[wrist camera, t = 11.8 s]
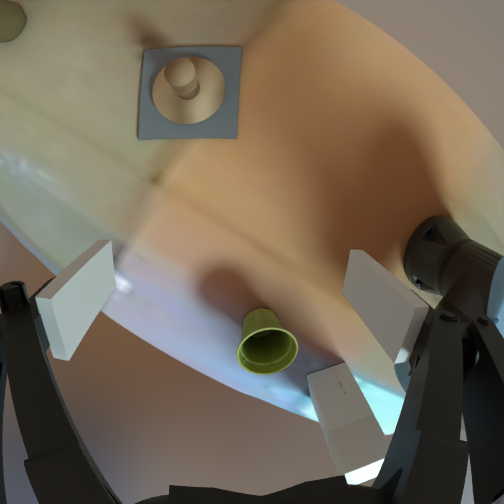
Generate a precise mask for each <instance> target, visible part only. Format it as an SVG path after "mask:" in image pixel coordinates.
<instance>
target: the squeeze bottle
mask: <svg viewBox="0 0 504 504" xmlns="http://www.w3.org/2000/svg"><path fill="white" fill-rule="evenodd" d="M26 19H27V17H26V15H25V13H24V11H23V9H22V7H21V6H20V5H19V4H17V3H14V2H11V1H8V0H0V43H1V42H7V41H11V40H13V39H15V38H16V37H17V36H18V35H19V34H20V33H21V32H22V30H23V28H24V27H25V24H26Z"/></svg>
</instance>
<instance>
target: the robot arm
mask: <svg viewBox="0 0 504 504" xmlns="http://www.w3.org/2000/svg"><path fill="white" fill-rule="evenodd" d="M404 267H405V273H406V276H407V278H408V279H409V281H410V282H411V283H412V284H413V285H414V286H416V287H417V288H418V289H420V290H422V291H425V292H429V293H433V294H437V295H441V296H443V298H442V300H441V301H440V302H439V304H438V305H437V306H436V308H435V309H433V308H432V307H431V306H430V305H429V304H428V303H426V302H425V301H423V299H422V298H421V297H420V296H418V295H417V294H416V293H415V292H414V291H413V290H411V289H409V288H408V287H407V286H406V285H404V284H403V283H402V282H401V281H400V280H399V279H397V278H396V277H395V276H394V275H393V274H391V273H390V272H389V271H388V270H387V269H385V268H384V267H383V266H382V265H380V264H379V263H378V262H377V261H376V260H374V259H373V258H372V257H371V256H369V255H368V254H367V253H366V252H364V251H363V250H355V249H351V250H350V255H349V261H348V266H347V271H346V276H345V281H344V285H343V290H342V294H343V295H344V297H345V298H346V299H347V301H348V302H349V303H350V305H351V306H352V307H353V308H354V310H355V311H356V312H357V314H358V315H359V316H360V318H361V319H362V320H363V322H364V323H365V324H366V326H367V327H368V328H369V330H370V331H371V333H372V334H373V335H374V337H375V338H376V339H377V341H378V342H379V343H380V345H381V346H382V348H383V349H384V350H385V352H386V353H387V354H388V356H389V357H390V359H391V360H392V361H393V363H394V369H395V373H396V376H397V378H398V380H399V382H400V384H401V386H402V388H403V389H404V391H405V392H406V396H405V400H404V403H403V407H402V410H401V413H400V416H399V420H398V423H397V426H396V429H395V432H394V434H393V437H392V440H391V443H390V445H389V448H388V451H387V453H386V456H385V458H384V461H383V463H382V466H381V468H380V471H379V473H378V475H377V477H376V479H375V481H374V483H373V485H372V486H371V487H368V486H362V485H355V484H348V483H347V480H346V477H345V475H341V476H336V477H331V478H326V479H320V480H314V481H308V482H304V483H301V484H298V485H295V486H293V487H290V488H287V489H284V490H281V491H278V492H275V493H271V494H268V495H264V496H256V495H249V494H243V493H238V492H232V491H227V490H222V489H217V488H207V487H187V486H174V485H170V486H169V487H170V488H169V495H161V496H157V497H152V498H149V499H145V500H142V501H140V502H138V503H135V504H460V503H461V499H462V494H463V489H464V483H465V477H466V471H467V464H468V455H469V456H470V464H471V474H472V484H473V495H474V503H475V504H504V256H502V255H500V254H499V253H497V252H495V251H493V250H491V249H489V248H487V247H485V246H483V245H481V244H479V243H478V242H475V241H473V240H472V239H470V238H469V237H468V235H467V234H466V233H465V232H464V231H463V230H462V228H461V227H460V226H459V225H458V224H457V223H456V222H454V221H453V220H451V219H449V218H446V217H444V216H434V217H431V218H429V219H427V220H426V221H424V222H423V223H422V224H421V225H420V226H419V227H418V228H417V229H416V230H415V232H414V233H413V235H412V237H411V238H410V241H409V243H408V246H407V249H406V252H405V259H404ZM115 287H116V284H115V275H114V266H113V256H112V244H111V240H98V241H97V242H95V243H94V244H93V245H92V246H91V247H89V248H88V249H87V250H86V251H85V252H84V253H82V254H81V255H80V256H79V257H78V258H77V259H75V260H74V261H73V262H72V263H71V264H70V265H69V266H68V267H66V268H65V269H64V270H63V271H62V272H61V273H60V274H59V275H58V276H56V277H54V278H53V279H50V280H48V281H47V282H46V283H45V284H44V285H43V286H42V287H41V288H39V289H38V291H36V293H34V294H33V295H32V296H31V297H30V298H28V294H27V290H26V286H25V284H24V282H21V281H12V282H8V283H5V284H3V285H1V286H0V308H1V311H2V314H0V504H7V502H6V495H5V485H4V475H3V453H2V431H3V430H2V429H3V410H4V396H5V388H6V379H7V372H8V378H9V383H10V389H11V395H12V400H13V404H14V409H15V412H16V417H17V420H18V424H19V428H20V432H21V435H22V438H23V442H24V445H25V448H26V451H27V454H28V459H27V460H24V466H25V469H26V473H27V475H28V478H29V480H30V483H31V486H32V488H33V491H34V493H35V495H36V498H37V500H38V502H39V504H123V503H122V502H121V501H120V499H119V498H118V497H117V496H116V494H115V493H114V491H113V490H112V489H111V487H110V485H109V484H108V482H107V481H106V479H105V478H104V476H103V475H102V473H101V472H100V470H99V469H98V467H97V465H96V463H95V462H94V460H93V458H92V456H91V455H90V453H89V451H88V449H87V447H86V446H85V444H84V442H83V440H82V438H81V436H80V434H79V432H78V430H77V428H76V426H75V424H74V422H73V420H72V418H71V416H70V413H69V411H68V409H67V407H66V404H65V402H64V400H63V397H62V395H61V393H60V390H59V388H58V385H57V383H56V380H55V377H54V375H53V372H52V369H51V366H50V364H49V360H48V358H47V355H46V350H47V349H48V347H49V346H50V348H51V351H52V354H53V357H54V358H58V359H63V360H68V361H69V360H70V358H71V356H72V355H73V353H74V351H75V350H76V348H77V346H78V345H79V343H80V341H81V340H82V338H83V336H84V335H85V333H86V332H87V330H88V328H89V327H90V325H91V324H92V322H93V320H94V318H95V317H96V315H97V314H98V313H99V311H100V310H101V308H102V307H103V305H104V303H105V302H106V300H107V299H108V297H109V296H110V294H111V293H112V292H113V290H114V289H115ZM461 427H462V428H463V429H464V431H465V432H466V436H467V442H468V443H467V442H466V441H462V440H460V431H461Z"/></svg>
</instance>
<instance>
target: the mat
mask: <svg viewBox="0 0 504 504" xmlns="http://www.w3.org/2000/svg"><path fill="white" fill-rule="evenodd" d="M241 51H242V48H239V47H175V48H160V49H148V50H145V51H144V60H143V70H142V81H141V95H140V112H139V140H149V139H174V138H230V139H237V125H238V104H239V85H240V67H241ZM183 57H200V58H204V59H206V60H208V61H210V62H212V63H213V64H214V65H216V66H217V67H218V69H219V70H220V71H221V73H222V75H223V77H224V81H225V95H224V99H223V101H222V104H221V105H220V107H219V108H218V110H217V111H216V112H215V113H214V114H213V115H212V116H210V117H209V118H207V119H206V120H204V121H201V122H198V123H195V124H179V123H175V122H173V121H170V120H169V119H167V118H165V117H164V116H163V115H162V114H161V113H160V112H159V111H158V109H157V108H156V106H155V104H154V101H153V95H152V91H153V85H154V82H155V79H156V77H157V76H158V74H159V73H160V71H161V70H162V69H163V68H164V67H165V66H166V65H167V64H168V63H169V62H170V61H172V60H174V59H177V58H183Z"/></svg>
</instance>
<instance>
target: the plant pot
mask: <svg viewBox="0 0 504 504" xmlns="http://www.w3.org/2000/svg"><path fill="white" fill-rule="evenodd" d="M269 330H270V331H269ZM266 331H269V332H267V333H265V334H263V332H266ZM297 353H298V343H297V340H296V338H295V337H294V336H293V334H292V333H290V332H289V331H287V330H286V329H285V328H284V327H283V325H282V324H281V322H280V320H279V319H278V317H277V316H276V314H275V313H274V312H273V311H271V310H269V309H263V308H258V309H254V310H252V311H250V312H249V313H248V314H247V315H246V316H245V318H244V321H243V329H242V340H241V342H240V344H239V345H238V348H237V353H236V356H237V360H238V363H239V364H240V366H241V367H242V368H243V369H245V370H246V371H248V372H250V373H253V374H257V375H270V374H274V373H277V372H280V371H282V370H284V369H285V368H287V367H288V366H289V365H290V364H291V363H292V362H293V361H294V359H295V358H296V356H297Z"/></svg>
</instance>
